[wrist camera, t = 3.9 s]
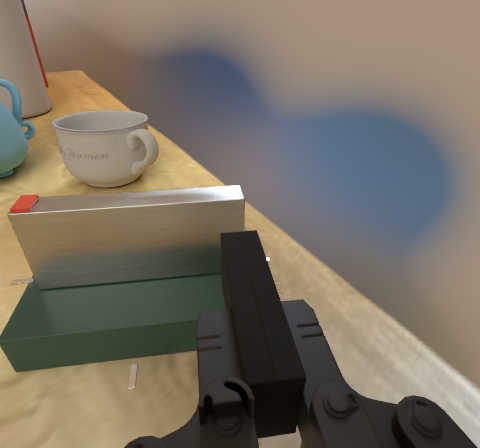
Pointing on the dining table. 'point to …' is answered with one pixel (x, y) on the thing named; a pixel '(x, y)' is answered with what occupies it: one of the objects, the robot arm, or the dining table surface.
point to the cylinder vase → (20, 61)
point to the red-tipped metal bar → (125, 234)
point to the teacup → (106, 146)
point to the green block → (107, 321)
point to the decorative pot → (13, 132)
